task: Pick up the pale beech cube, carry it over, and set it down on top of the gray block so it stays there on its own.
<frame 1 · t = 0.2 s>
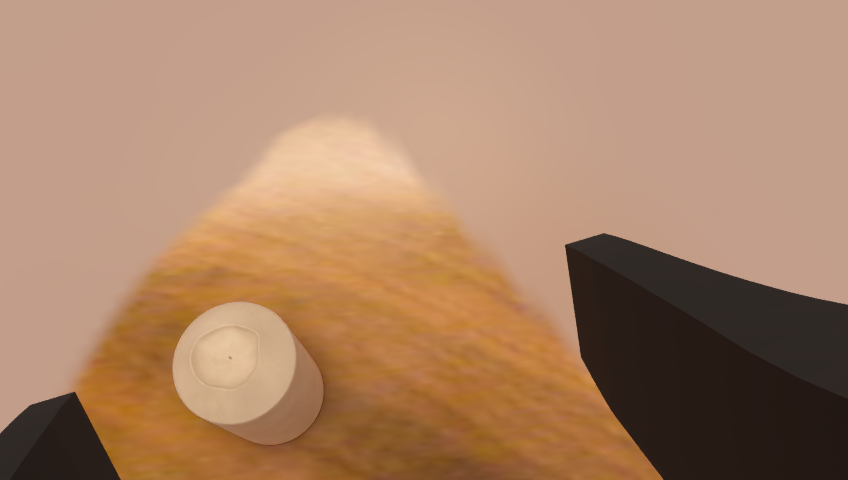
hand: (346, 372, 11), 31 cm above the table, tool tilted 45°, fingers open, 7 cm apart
candle: (275, 394, 43), on the table
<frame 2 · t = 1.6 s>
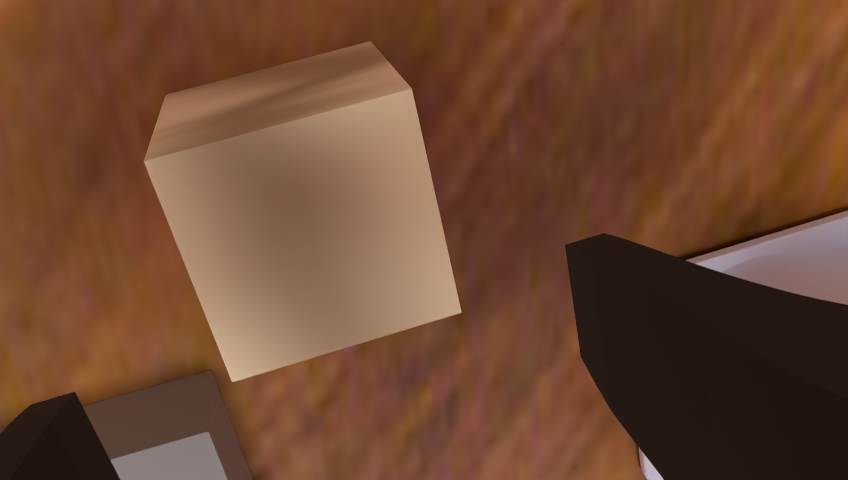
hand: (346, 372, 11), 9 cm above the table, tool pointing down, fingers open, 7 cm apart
beech cube: (298, 162, 20), on the table
gray block: (141, 475, 23), on the table
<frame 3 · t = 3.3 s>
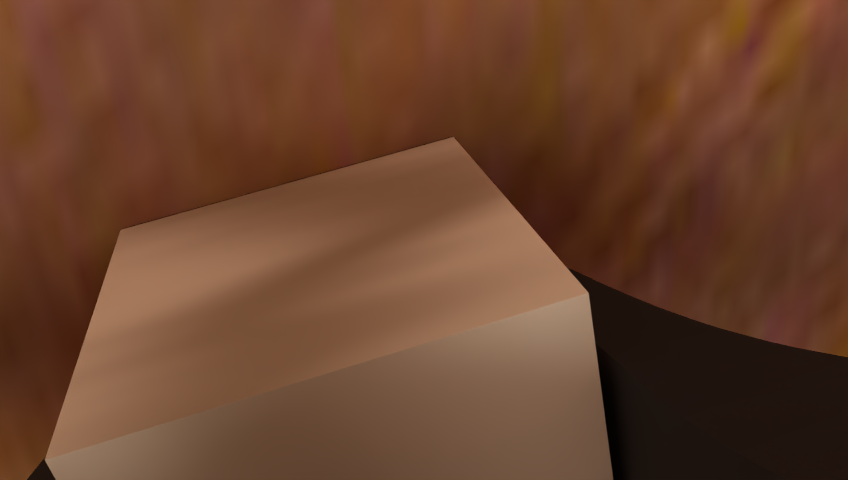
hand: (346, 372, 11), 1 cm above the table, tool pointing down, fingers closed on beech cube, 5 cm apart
beech cube: (334, 322, 12), on the table, touching gripper
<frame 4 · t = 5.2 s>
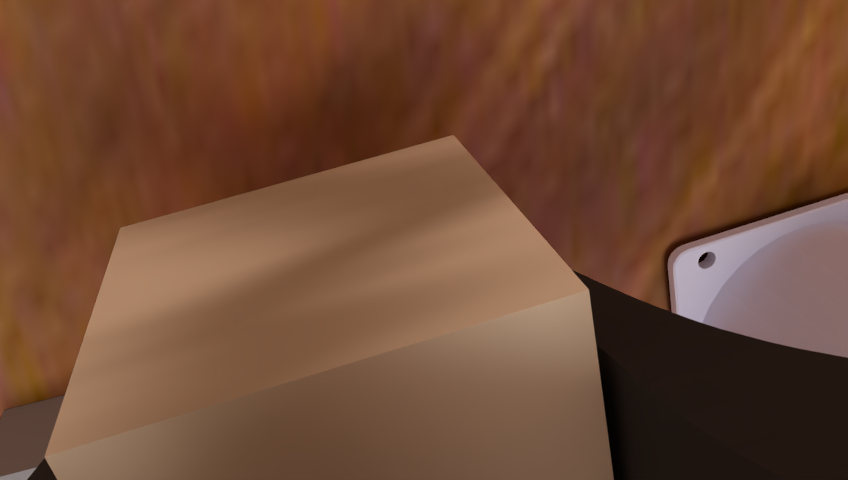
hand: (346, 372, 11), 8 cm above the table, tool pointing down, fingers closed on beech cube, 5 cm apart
beech cube: (334, 321, 12), point 7 cm above the table, touching gripper
gray block: (161, 461, 21), on the table
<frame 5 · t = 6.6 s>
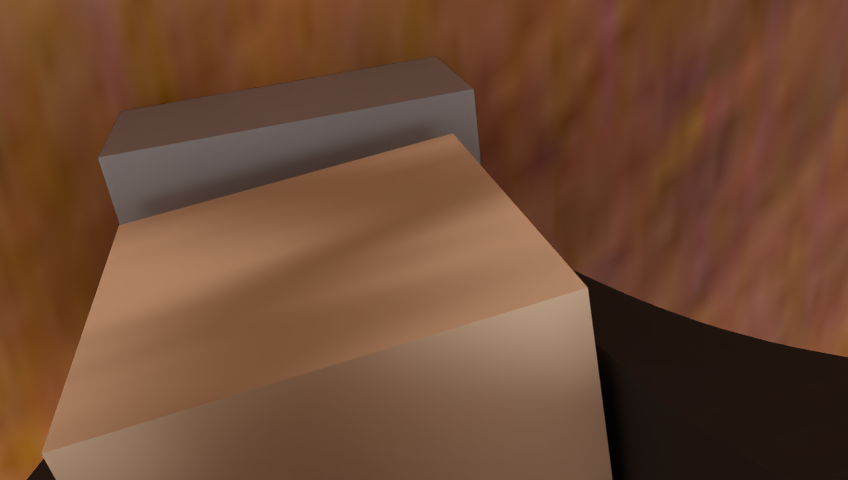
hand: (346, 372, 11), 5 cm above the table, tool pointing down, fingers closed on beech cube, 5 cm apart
beech cube: (333, 319, 12), point 4 cm above the table, touching gripper
gray block: (310, 219, 16), on the table
when the fingers open (5 cm above the table, at t = 7.3 s): beech cube drops 1 cm, resting on gray block.
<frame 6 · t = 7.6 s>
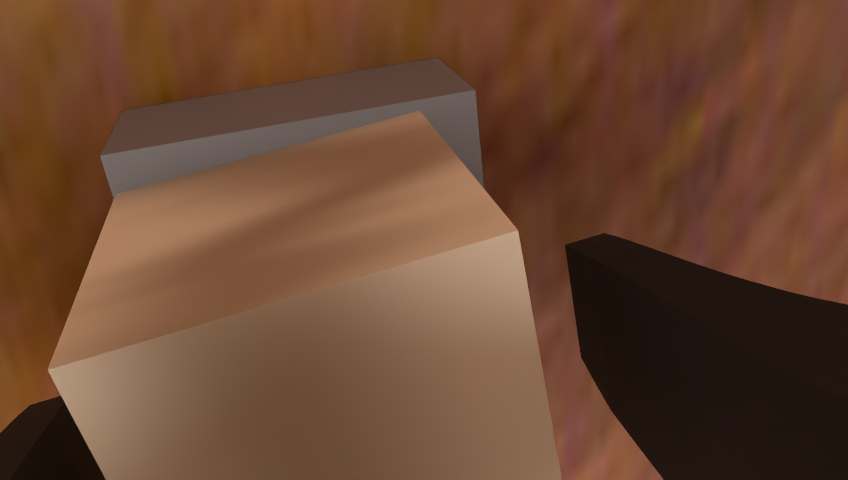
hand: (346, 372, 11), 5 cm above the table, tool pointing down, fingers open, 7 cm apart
beech cube: (313, 282, 14), point 3 cm above the table, touching gray block
gray block: (311, 219, 16), on the table, touching beech cube
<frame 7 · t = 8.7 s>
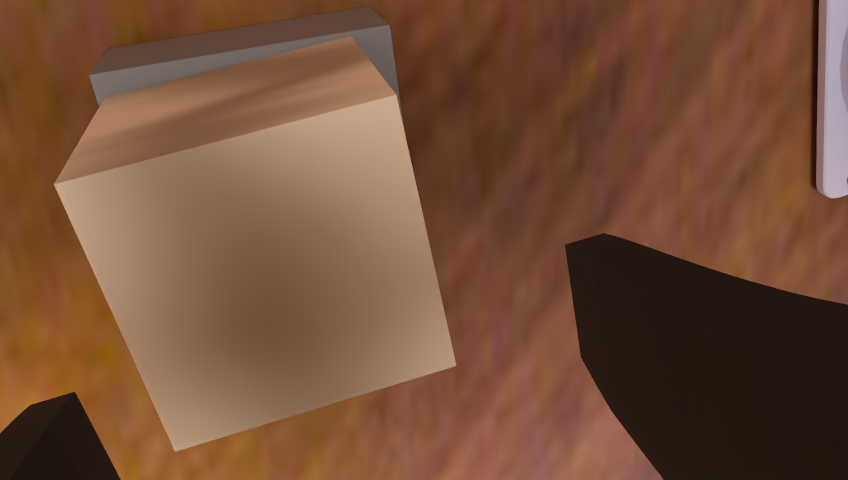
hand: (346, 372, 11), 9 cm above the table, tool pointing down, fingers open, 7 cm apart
beech cube: (265, 178, 17), point 3 cm above the table
gray block: (267, 145, 20), on the table
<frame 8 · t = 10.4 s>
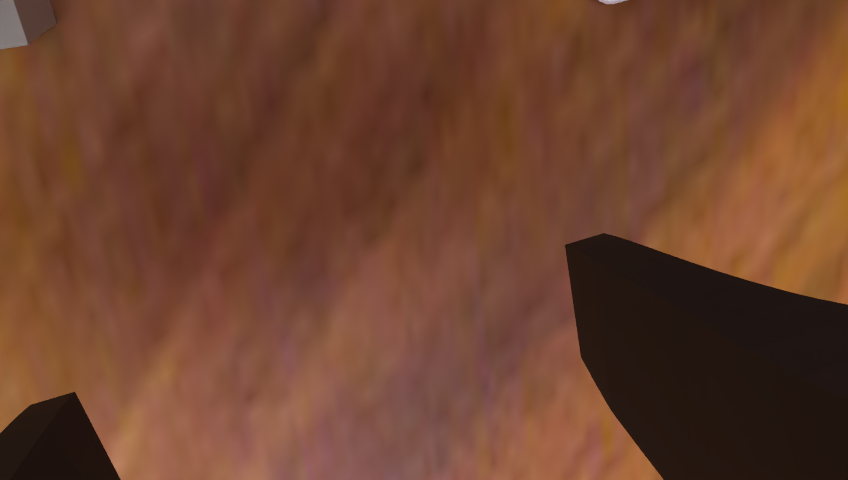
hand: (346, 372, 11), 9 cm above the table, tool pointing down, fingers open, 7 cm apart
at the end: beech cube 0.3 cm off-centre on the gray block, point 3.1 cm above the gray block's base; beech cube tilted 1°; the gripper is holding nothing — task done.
